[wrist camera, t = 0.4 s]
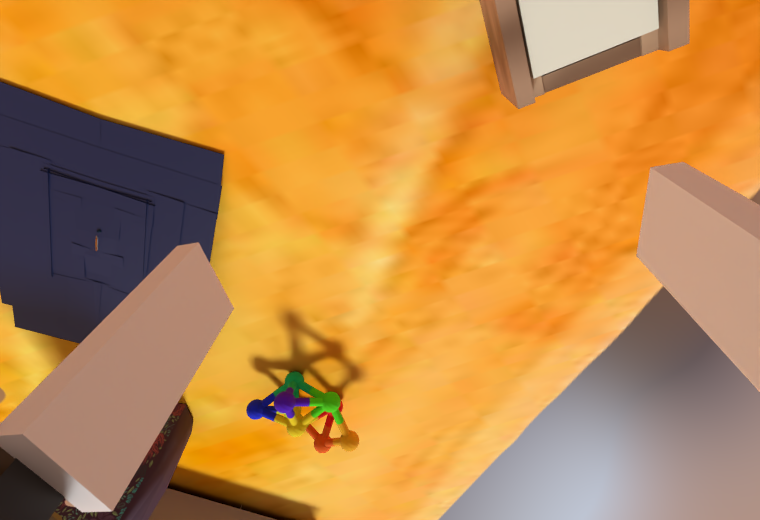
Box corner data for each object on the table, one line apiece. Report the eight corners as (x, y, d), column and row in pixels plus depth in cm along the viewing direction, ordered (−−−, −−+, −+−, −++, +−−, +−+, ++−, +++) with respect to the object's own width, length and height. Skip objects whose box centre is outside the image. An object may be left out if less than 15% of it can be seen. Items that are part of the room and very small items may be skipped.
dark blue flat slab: (18, 310, 51) (-8, 326, 48) (-7, 69, 38) (-45, 69, 35) (202, 360, 54) (190, 379, 50) (237, 150, 41) (223, 157, 38)
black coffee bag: (86, 385, 60) (-122, 623, 37) (191, 402, 61) (50, 648, 37) (99, 417, 65) (-80, 647, 41) (196, 433, 65) (74, 669, 42)
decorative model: (308, 456, 59) (224, 431, 51) (319, 398, 65) (245, 366, 56) (372, 455, 52) (288, 425, 43) (380, 390, 57) (306, 351, 48)
